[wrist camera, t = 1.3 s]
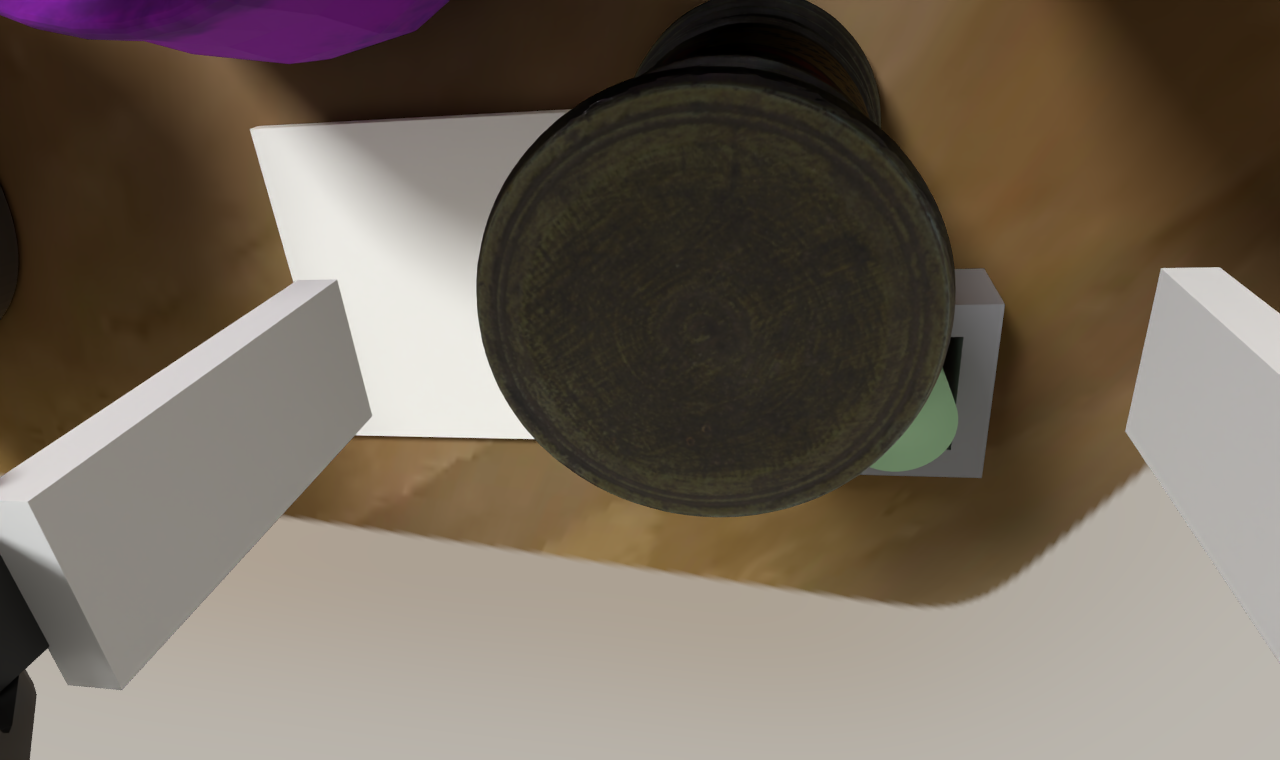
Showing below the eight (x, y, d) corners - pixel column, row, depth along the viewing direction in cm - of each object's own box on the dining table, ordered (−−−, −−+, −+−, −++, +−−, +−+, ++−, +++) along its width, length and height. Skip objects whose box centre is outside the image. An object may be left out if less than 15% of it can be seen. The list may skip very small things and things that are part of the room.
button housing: (792, 426, 35) (791, 472, 32) (793, 271, 32) (793, 306, 29) (965, 430, 34) (981, 477, 31) (984, 268, 31) (1005, 304, 28)
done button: (830, 408, 33) (834, 470, 30) (832, 317, 32) (838, 370, 28) (933, 409, 33) (952, 473, 29) (942, 316, 31) (963, 370, 27)
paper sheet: (343, 428, 39) (336, 434, 39) (258, 126, 33) (249, 129, 32) (631, 433, 37) (629, 441, 36) (601, 107, 30) (597, 110, 30)
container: (781, 290, 33) (768, 613, 17) (586, 163, 31) (379, 383, 16) (936, 88, 28) (1113, 268, 13) (717, -66, 27) (612, -78, 12)
